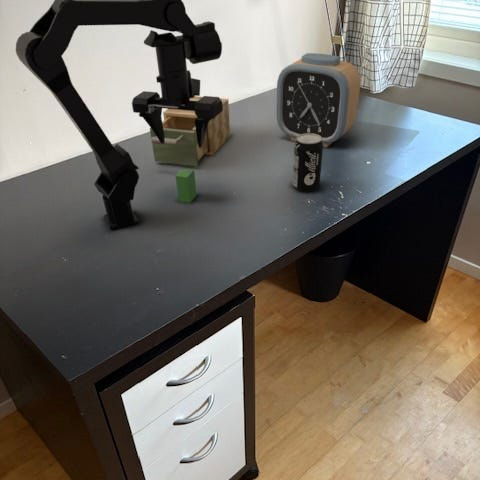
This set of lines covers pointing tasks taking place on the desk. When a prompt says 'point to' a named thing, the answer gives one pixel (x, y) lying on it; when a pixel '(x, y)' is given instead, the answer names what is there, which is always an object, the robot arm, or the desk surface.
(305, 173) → the beverage can
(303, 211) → the desk surface
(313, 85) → the alarm clock
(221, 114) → the cabinet
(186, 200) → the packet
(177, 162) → the drawer
